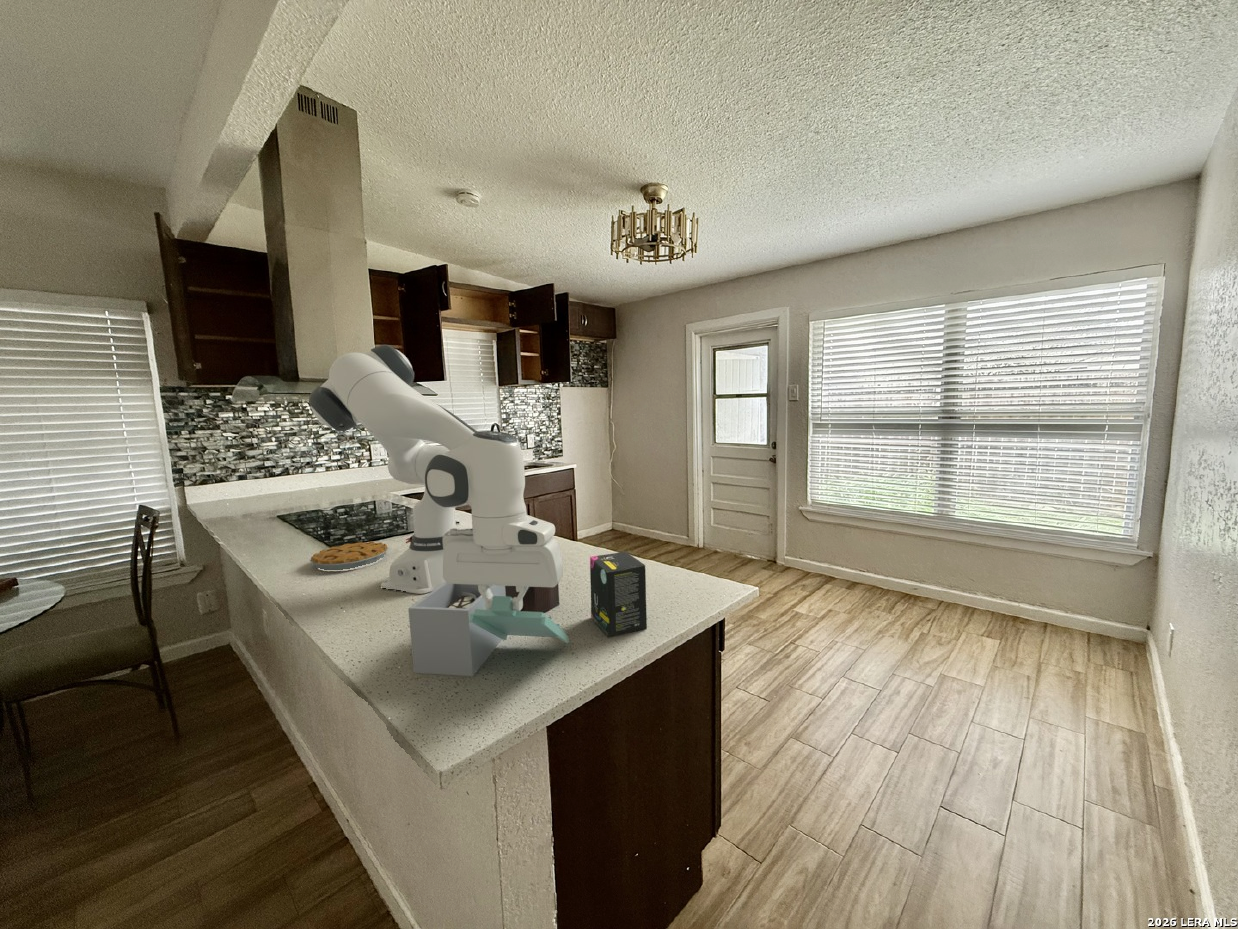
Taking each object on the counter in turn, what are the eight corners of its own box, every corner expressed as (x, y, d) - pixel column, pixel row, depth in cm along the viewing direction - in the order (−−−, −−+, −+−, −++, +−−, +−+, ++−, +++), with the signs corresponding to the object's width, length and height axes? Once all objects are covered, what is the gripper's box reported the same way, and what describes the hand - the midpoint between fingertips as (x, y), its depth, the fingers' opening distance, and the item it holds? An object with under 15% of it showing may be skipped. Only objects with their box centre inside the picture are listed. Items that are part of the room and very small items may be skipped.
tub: (413, 672, 85) (408, 608, 84) (457, 630, 101) (453, 575, 100) (472, 676, 83) (468, 610, 82) (507, 632, 100) (504, 577, 98)
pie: (403, 554, 159) (401, 540, 159) (353, 576, 138) (351, 560, 137) (350, 551, 164) (348, 537, 164) (294, 572, 143) (292, 557, 143)
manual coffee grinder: (528, 595, 120) (525, 528, 118) (560, 604, 113) (557, 533, 111) (480, 618, 107) (475, 543, 105) (513, 630, 101) (508, 550, 99)
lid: (458, 615, 76) (463, 594, 78) (503, 640, 94) (506, 622, 96) (537, 619, 74) (540, 597, 76) (567, 643, 92) (570, 625, 94)
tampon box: (590, 617, 106) (588, 556, 104) (626, 610, 110) (625, 550, 108) (608, 638, 96) (606, 571, 94) (647, 629, 100) (646, 564, 98)
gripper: (431, 533, 75) (437, 614, 76) (553, 535, 72) (556, 619, 73) (451, 523, 81) (456, 599, 83) (564, 525, 78) (567, 603, 79)
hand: (504, 608), depth 78 cm, fingers closed on lid, 3 cm apart
